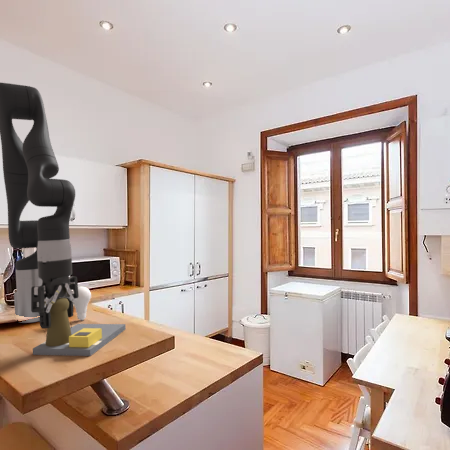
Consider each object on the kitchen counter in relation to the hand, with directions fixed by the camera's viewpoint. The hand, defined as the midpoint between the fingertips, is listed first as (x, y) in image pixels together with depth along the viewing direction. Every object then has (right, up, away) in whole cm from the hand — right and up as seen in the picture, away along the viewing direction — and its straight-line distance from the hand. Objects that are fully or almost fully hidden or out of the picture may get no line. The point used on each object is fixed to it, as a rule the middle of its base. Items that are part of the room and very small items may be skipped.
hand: (57, 322), depth 78 cm
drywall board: (+4, -6, +4) cm, 9 cm away
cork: (0, -5, 0) cm, 5 cm away
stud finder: (+8, -5, -1) cm, 9 cm away
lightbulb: (-5, -7, +23) cm, 24 cm away
